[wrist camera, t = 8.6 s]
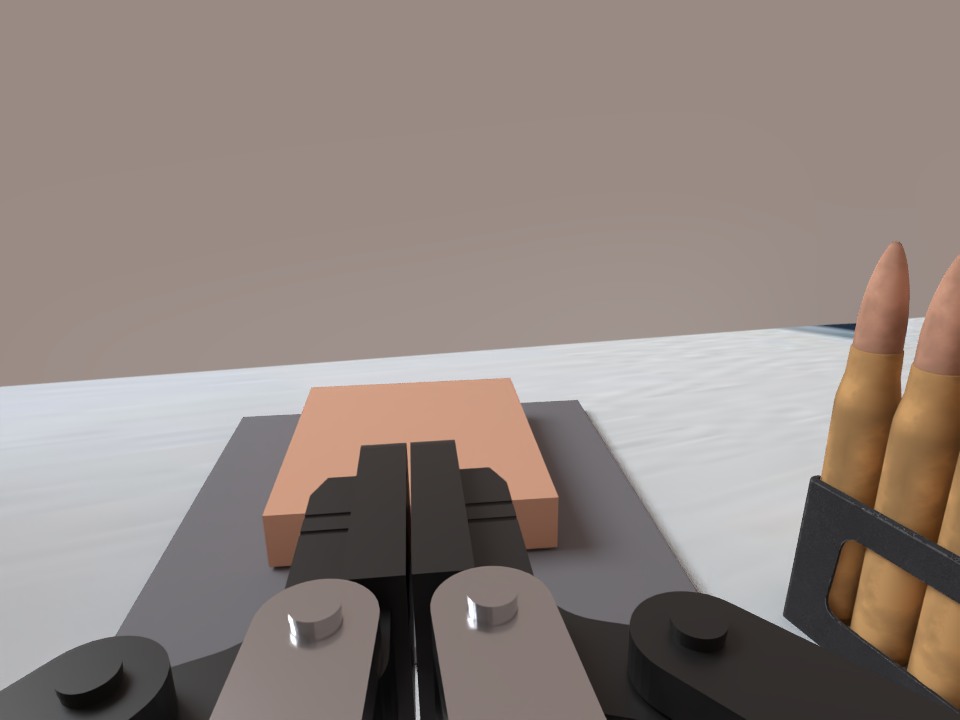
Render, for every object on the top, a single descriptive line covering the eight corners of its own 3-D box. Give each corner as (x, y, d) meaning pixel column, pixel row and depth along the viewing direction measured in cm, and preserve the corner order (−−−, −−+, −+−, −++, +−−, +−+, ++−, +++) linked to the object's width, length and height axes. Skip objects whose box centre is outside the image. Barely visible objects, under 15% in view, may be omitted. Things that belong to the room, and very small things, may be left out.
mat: (97, 689, 19) (93, 672, 19) (244, 427, 36) (242, 417, 36) (714, 638, 21) (715, 622, 21) (577, 410, 38) (577, 400, 38)
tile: (262, 516, 23) (311, 387, 34) (269, 570, 23) (315, 426, 35) (558, 497, 23) (510, 378, 35) (557, 550, 24) (510, 416, 36)
